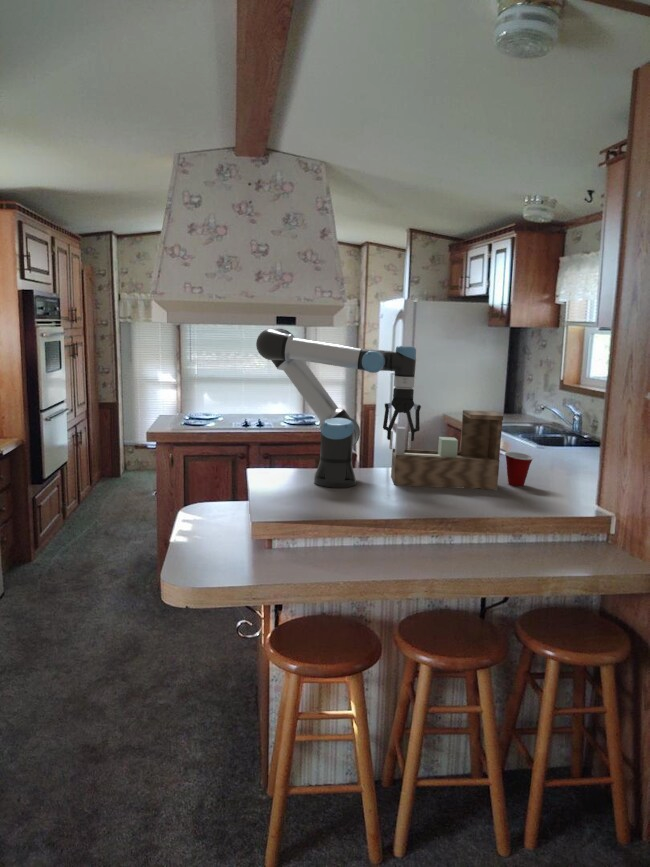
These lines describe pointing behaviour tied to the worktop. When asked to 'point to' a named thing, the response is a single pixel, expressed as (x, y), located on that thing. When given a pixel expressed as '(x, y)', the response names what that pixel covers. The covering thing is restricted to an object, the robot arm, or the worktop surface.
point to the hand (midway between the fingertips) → (399, 448)
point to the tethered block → (445, 449)
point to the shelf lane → (471, 464)
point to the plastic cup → (517, 467)
